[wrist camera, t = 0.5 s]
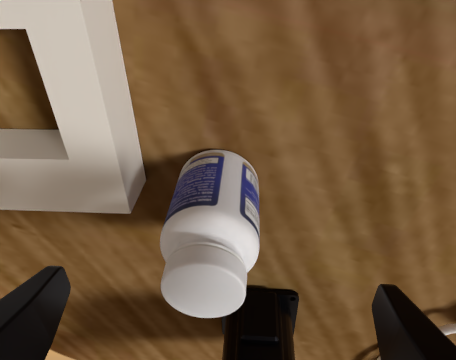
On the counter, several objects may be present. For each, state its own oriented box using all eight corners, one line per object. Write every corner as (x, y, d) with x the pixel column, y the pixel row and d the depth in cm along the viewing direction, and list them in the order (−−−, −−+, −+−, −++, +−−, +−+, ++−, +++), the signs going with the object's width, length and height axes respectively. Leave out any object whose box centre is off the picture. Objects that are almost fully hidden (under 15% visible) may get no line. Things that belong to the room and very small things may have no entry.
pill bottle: (172, 198, 24) (134, 309, 17) (192, 136, 21) (157, 238, 14) (242, 220, 25) (236, 336, 18) (272, 163, 22) (278, 274, 15)
